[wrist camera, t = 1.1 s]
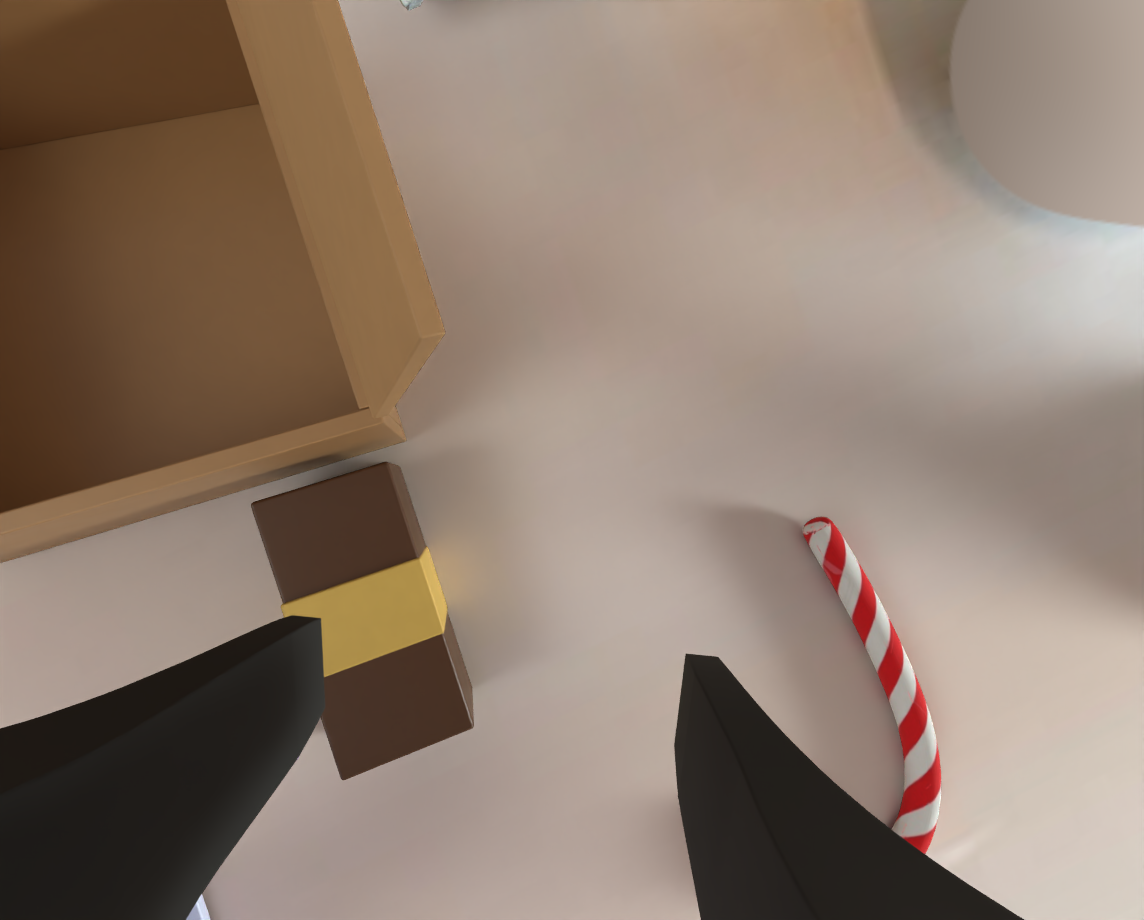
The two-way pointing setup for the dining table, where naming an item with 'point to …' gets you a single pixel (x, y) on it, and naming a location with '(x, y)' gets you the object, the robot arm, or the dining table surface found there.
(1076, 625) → the dining table surface
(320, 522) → the chocolate bar
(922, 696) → the candy cane
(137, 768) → the robot arm
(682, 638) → the dining table surface
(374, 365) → the box flap
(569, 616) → the dining table surface
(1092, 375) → the dining table surface
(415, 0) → the packaged food
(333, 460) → the cardboard box
